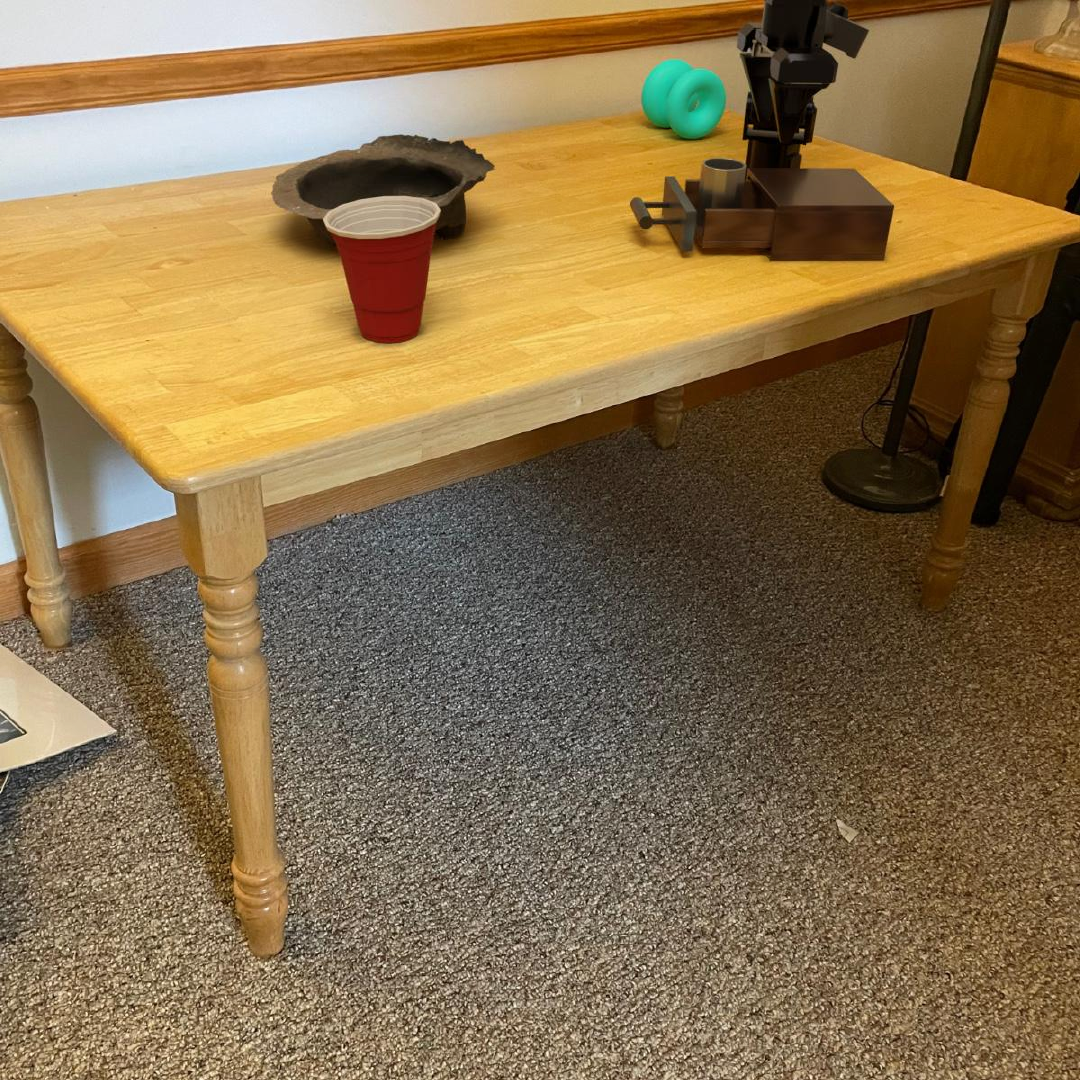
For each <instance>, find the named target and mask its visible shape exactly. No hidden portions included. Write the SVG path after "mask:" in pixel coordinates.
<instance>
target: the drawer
mask: <svg viewBox="0 0 1080 1080" xmlns="http://www.w3.org/2000/svg"><path fill="white" fill-rule="evenodd" d="M663 183H664V185H663V194H662V201H644V200H643V199H642V198H641V197H640V196H635V197H633V198H631V200H630V202H629V207H630V209H631V211H632V213H633V216H634V217H635V220H636V221H637V223H638V225H639V228H640V229H642V230H644V231H646V230H650V229H651V228H652V227H653V226H654V225H656V226H659V225H660V226H661V225H662V226H666V225H667V227H668V229H669V231H670V232H671V234H672V236H673V238H674V239H675V242H676V243H677V245H678V248H679V249H680V250H681V252H682V253H693V250H694V240H695V238H696V240H697V241H698V243H699V246H701V248H702V249H745V248H746V249H760V248H761V249H762V248H771V241H772V234H773V227H774V220H775V213H776V209H775V208H774V206H773V205H772V204H771V203H770V201H769V200H768V199H767V198H766V196H765V195H764V194H763V193H762V192H761V190H760V189H759V188H758V187H757V185H756V184H755V183H754V182H753V180H752V179H745V182H744V190H743V198H742V206H741V209H705V212H704V222H703V228H702V227H700V226H698V225H697V223H696V214H697V204H698V195H699V185H700V178H686V179H684V189H683V188H682V186H681V185H680V182H679V181H678V180H677V178H676V177H675V176H672V175H671V176H669V175H668V176H666V175H665V176H664V182H663ZM648 209H661V216H662V217H652V215H651V214H650V212H649V210H648Z"/></svg>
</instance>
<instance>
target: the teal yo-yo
mask: <svg viewBox="0 0 1080 1080" xmlns="http://www.w3.org/2000/svg"><path fill="white" fill-rule="evenodd" d="M640 95H641V96H640V97H641V101H640V102H641V108H642V111H643V114H644V115H645V117H646V118H647V120H648V121H649V122H651V123H652V124H653V125H655V126H657V127H659V128H665V129H668V128H669V129H672V131H673V132H674V133H675V134H677V136H679V137H681V138H683V139H687V140H697V139H700V138H703V137H705V136H707V135H709V134H710V133H711V132H712V131H713V130H714V129H715V128H716V127H717V126H718V125H719V123H720V122H721V119H722V118H723V115H724V113H725V110H726V105H727V92H726V88H725V85H724V82H723V81H722V79H721V78H720V77H719V76H718V75H717V73H715V72H713V71H712V70H711V69H707V68H694V67H693V66H692V65H691V64H690V63H689V62H686V61H685V60H682V59H679V58H669V59H666V60H664V61H662V62H660V63H658V64H657V65H655V66H654V67H653V68H652V69H651V70H650V72H649V73H648V74H647V76H646V78H645V80H644V82H643V85H642V89H641V94H640Z"/></svg>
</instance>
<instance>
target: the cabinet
mask: <svg viewBox="0 0 1080 1080" xmlns="http://www.w3.org/2000/svg"><path fill="white" fill-rule="evenodd" d="M746 179H752V180H753V182H754V183H755V184H756V185H757V187H758V188H759V189H760V190H761V192H762V193H763V194H764V195H765V196H766V198H767V199H768V200H769V201H770V203H771V204H772V205H773V206H774V208H775V209H776V213H775V220H774V227H773V234H772V241H771V248H761V250H762V251H763V252H764V254H765V255H766V257H767V258H768V259H769V261H770V262H771V261H772V262H775V261H777V262H779V261H783V262H786V261H787V262H789V261H790V262H791V261H797V262H798V261H801V262H803V261H806V262H807V261H809V262H810V261H811V262H813V261H814V262H815V261H884V260H885V256H886V250H887V245H888V239H889V235H890V230H891V225H892V220H893V215H894V211H895V210H894V209H895V204H893V202H891V201H890V200H889V198H888V197H886V196H885V195H884V194H883V193H882V192H880V191H879V190H878V189H877V188H876V187H875V186H874V185H873V184H872V183H871V182H870V181H868V180H867V179H866V177H864V176H863V175H862V174H861V172H859V171H858V170H857V169H856V168H838V167H837V168H833V167H832V168H827V167H826V168H825V167H824V168H823V167H822V168H817V167H815V168H814V167H813V168H809V167H805V168H804V167H803V168H802V167H800V168H748V169H747V177H746Z"/></svg>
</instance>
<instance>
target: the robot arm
mask: <svg viewBox="0 0 1080 1080" xmlns="http://www.w3.org/2000/svg"><path fill="white" fill-rule="evenodd" d="M763 1H764V5H763V13H762V21H761V22H751V21H749V22H748V21H747V22H746V23H745V24H744V25H743V26H742V27H741V28H740V29H739V30H738V33H737V41H736V49H738V50H739V51H740V52H739V58H740V60H741V63H742V66H743V70H744V74H745V78H746V80H747V83H748V88H749V90H748V91H747V96H746V103H745V111H744V112H745V113H744V120H743V129H742V130H743V131H742V138H741V139H742V141H747V148H746V156H745V162H744V163H745V164H746V165H747V166H746V174H745V179H746V177H747V169H748V168H801V164H802V157H803V156H802V154H801V153H800V151H801V146H807V144H811V143H813V138H814V131H815V126H816V120H817V115H818V108H817V106H816V105H815V101H814V98H815V97H814V96H815V95H817V94H818V93H820V92H821V91H822V90H826V89H828V88H829V87H830V85H831V84H835V83H836V81H837V74H838V68H839V62H838V61H837V60H836V58H835V57H834V55H833V54H832V53H830V52H829V51H828V50H826V49H824V48H823V47H824V44H825V45H827V46H829V47H831V48H834V49H836V50H838V51H841V52H843V53H845V55H846V56H847V57H848V58H851V59H854V60H856V58H857V57H858V55H859V52H860V51H861V49H862V47H863V45H864V42H865V40H866V39H867V36H868V34H869V33H870V29H868V28H866V27H865V26H863V25H861V24H859V23H857V22H855V21H854V20H851V19H849V9H848V7H846V6H844V5H842V4H839V3H837V2H835V1H832V2H830V3H829V2H828V1H829V0H763ZM828 3H829V4H828ZM802 130H803V131H802Z"/></svg>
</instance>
